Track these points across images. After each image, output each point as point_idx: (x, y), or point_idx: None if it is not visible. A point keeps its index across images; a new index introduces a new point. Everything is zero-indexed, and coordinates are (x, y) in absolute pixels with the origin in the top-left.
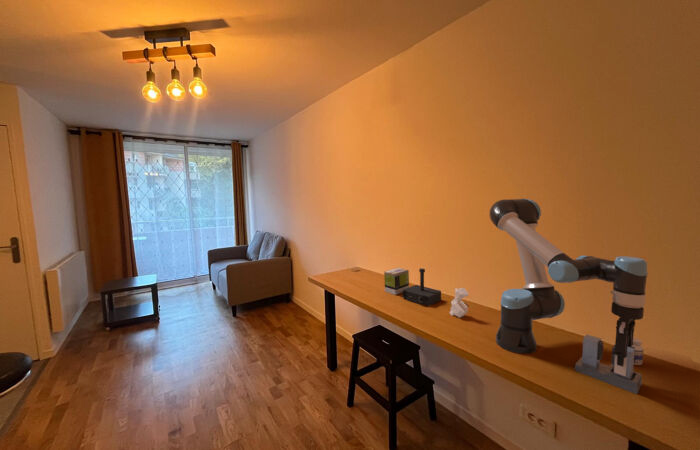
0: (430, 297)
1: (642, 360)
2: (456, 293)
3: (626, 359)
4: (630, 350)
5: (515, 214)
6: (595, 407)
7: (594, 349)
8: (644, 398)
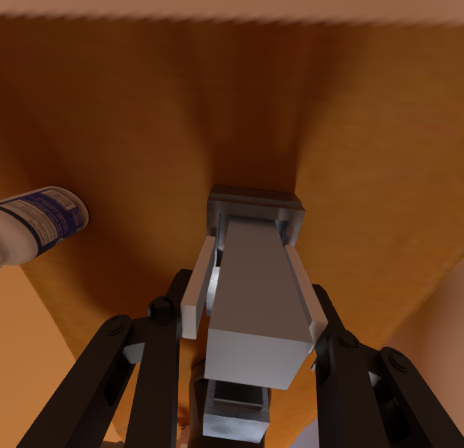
0: None
1: (43, 190)
2: None
3: (322, 310)
4: (276, 346)
5: None
6: (436, 267)
7: None
8: (306, 175)
